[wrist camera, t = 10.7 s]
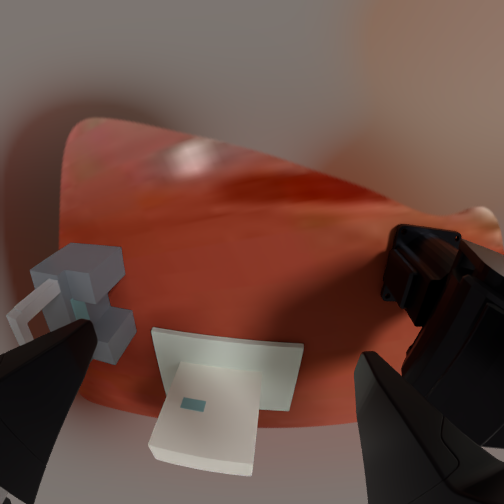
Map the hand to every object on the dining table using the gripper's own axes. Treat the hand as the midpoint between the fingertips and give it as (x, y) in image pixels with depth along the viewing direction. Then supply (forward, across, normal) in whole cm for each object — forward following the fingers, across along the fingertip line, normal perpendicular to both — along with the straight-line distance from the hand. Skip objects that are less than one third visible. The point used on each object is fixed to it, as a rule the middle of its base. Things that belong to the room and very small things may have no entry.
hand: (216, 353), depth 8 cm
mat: (+13, +2, +16) cm, 20 cm away
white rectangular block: (+12, +2, +16) cm, 20 cm away
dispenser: (+13, +14, +7) cm, 20 cm away
